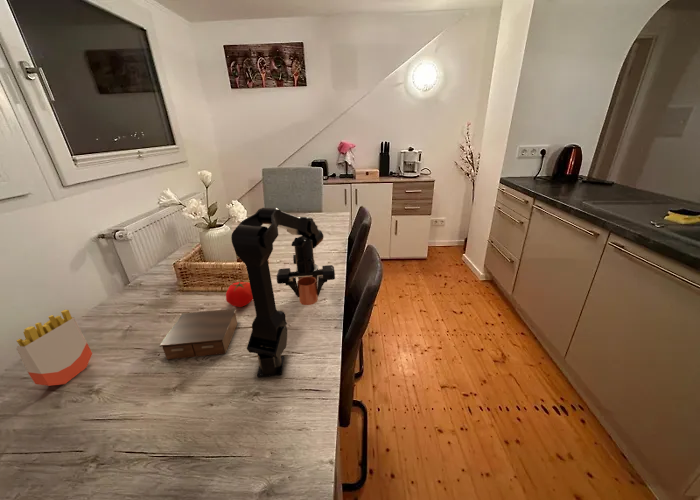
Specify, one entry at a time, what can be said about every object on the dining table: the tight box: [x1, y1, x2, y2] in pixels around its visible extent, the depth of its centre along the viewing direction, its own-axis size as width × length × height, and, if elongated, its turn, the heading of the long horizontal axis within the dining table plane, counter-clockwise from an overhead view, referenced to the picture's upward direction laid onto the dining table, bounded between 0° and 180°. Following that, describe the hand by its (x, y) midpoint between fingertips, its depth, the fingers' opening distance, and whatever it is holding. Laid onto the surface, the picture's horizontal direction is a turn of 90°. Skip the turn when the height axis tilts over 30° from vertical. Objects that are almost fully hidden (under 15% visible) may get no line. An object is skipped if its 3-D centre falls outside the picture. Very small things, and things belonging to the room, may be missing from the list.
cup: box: [296, 276, 319, 306], centre depth 95 cm, size 6×6×8 cm
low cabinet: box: [159, 308, 238, 360], centre depth 85 cm, size 15×17×6 cm
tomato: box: [225, 281, 253, 308], centre depth 103 cm, size 9×10×8 cm
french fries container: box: [16, 309, 93, 387], centre depth 72 cm, size 5×11×18 cm, turn 171°
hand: (308, 295), depth 96 cm, fingers closed on cup, 6 cm apart
